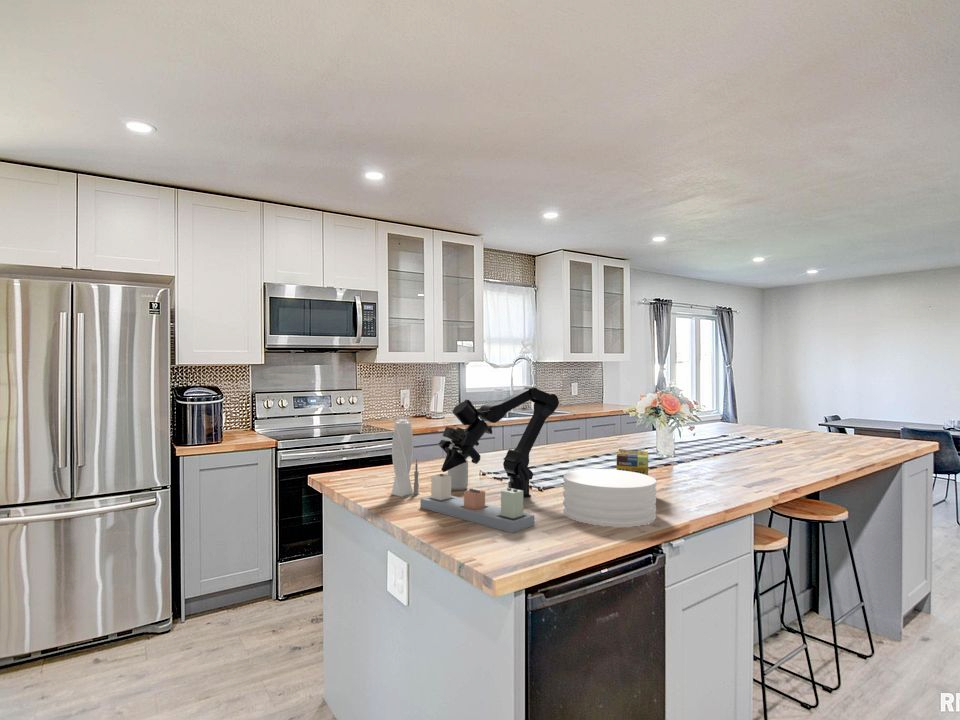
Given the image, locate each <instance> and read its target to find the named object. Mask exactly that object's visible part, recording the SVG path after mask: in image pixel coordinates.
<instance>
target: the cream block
mask: <svg viewBox="0 0 960 720" xmlns="http://www.w3.org/2000/svg"><path fill="white" fill-rule="evenodd" d="M430 478H431V488H430V489H431V490H430V496H431V498H434V499H438V500H444V499H448V498H451V496H452V490H451V476H449V475H448V474H444V473H439V474H434V475H431V477H430Z"/></svg>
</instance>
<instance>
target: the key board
mask: <svg viewBox="0 0 960 720" xmlns="http://www.w3.org/2000/svg"><path fill="white" fill-rule="evenodd" d="M419 506H420V508H421V509H424V510H428V511H432V512H434V513H439V514H441V515H442V514H443V515H446V516H450V517H454V518H457V519H460V520H464V521H468V522H472V523H475V524H478V525H482V526H486V527H490V528H492V529H496V530H499V531H505V532H507V533H511V534H513V533H516V532H519V531H523V530H526V529H528V528H531V527H533V526H535V515H533V514H530V513H525V512H523V516H519V517H516V518H509V517H505V516H501V506H496V505H492V504H489V503H485V508H483V509H480V510H476V511H474V510H470V509H466V508H464V497H459V496H455V495H451V498H448V499H444V500H438V499H434V498H431V495H430V496H428V497H427V496H426V497H423V498H420V505H419Z"/></svg>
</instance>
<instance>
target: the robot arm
mask: <svg viewBox="0 0 960 720" xmlns="http://www.w3.org/2000/svg"><path fill="white" fill-rule="evenodd" d="M529 401H530V402H532V403H533V414H532V416H531V418H530V420H529V422H528V424H527V426H526V428H525V430H524V432H523V434H522V435H521V438H520V440H519V441H518V443H517V445H516V447H515V448H514V449H510V448H509V449H508V450H507V453H506V455H505V457H504V458H503V463H502V466H503V469H504V471H505V472H506V476H507V477H509V481H508V484H507V485H508V486H507V488H513V489H517V490H522V491H523V498H530V497H531V498H532V494H530V480H533V477H534V472H533V471H532V470H531V469H530V467H529V465H530V452H531V451H532V448H533V446H534V445H535V442H536V441H537V439H538V436H539V435H540V432H541V430H542V428H543V426H544V424H545V422H546V420H547V419H548V418H549V417H550V416H552V415H553V414H554V413H555V411H556V409H558V407H559V405H560V401H559V397H558V396H557V395H556V394H555V393H548V392H545V391H544V390H541V389H539V388H536V387H534V386H526V387H524V388H522V389H521V390H519V391H517V392H515V393H513V394H511V395H509V396H508V397H505V398H504V399H501V400H499V401H493V402H490V403H486V404H484V405H483V404H482V405H481V406H480V407H479V408H476V407H475V406H474V405H473V404H472V401H471V400H470V399H465V400H464V401H462V402H460V403H458V404H457V405H455V407H454V408H453V410H452V414H454V416H455V417H456V418H457V419H458V421H459V422H460V424H462V425H463V426H467V427H466V428H465V429H463V428H462V427H456V428H453V427H449V426H446V427H445V429H444V431H443V433H442V437H445V438H448V439H449V440H448V439H441V440H440V441H439V442H438V446H439V447H440V448H441V450H442V451H443V452H444V453H445V454H446V456H445V459H444V461H443V464H442V467H441V471H442V472H443V473H445V472H448V470H449V469H452V468H454V467H456V466H458V465H460V464H463V463H466V462H467V461H466V459H467V460H468V458H470V459H471V463H472V464H475V465H478V463H479V462H480V461H481V454H479V452H478V451H477V450H476V449H475V446H476V447H477V446H479V445H480V443H479V441H480V440H481V439H482V438H483V436H484V435H485V434H488V435H492V434H493V429H492V428H493V426H492V425H489V424H488V423H490V424H491V423H493V424H495V423H498V422H500V421H501V420H502V419H504V418H505V417H506V415H507V413H509V412H510V411H512V410H514V409H515V408H517V407H519V406H522V405H523V404H524V403H527V402H529ZM450 440H451V441H450Z"/></svg>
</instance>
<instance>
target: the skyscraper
mask: <svg viewBox="0 0 960 720" xmlns="http://www.w3.org/2000/svg"><path fill="white" fill-rule="evenodd" d="M396 418H397V419H396ZM398 418H400V419H398ZM393 420H394V421H393V422H395V424H394V429H393V434H392V440H391V441H392V444H391V458H392V465H393V472H394V474H395V475H394V479H393V484H392V485H393V486H392V491H391V496H396V497H400V498H404V499H407V498H410V497H411V498H412V497H414V496H418V495H420V493H419V486H420V484H419V470H418V466H419V464H418V459H417V458H416V459H415V464H414V465H415V466H414V467H415V468H414V469H415V470H414V472H413V473H414V474H413V475H414V483H413V487H412V483H411V482H412V481H411V478H410V472H411V468H412V463H413V459H414V457H413V456H414V445H415V444H414V435H413V434H414V433H413V429H412V428H413V427H412V423H411V421H412V420H410V419H409V418H407V417H405V416H402V415H401V416H400V415H395V416H393Z"/></svg>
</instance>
